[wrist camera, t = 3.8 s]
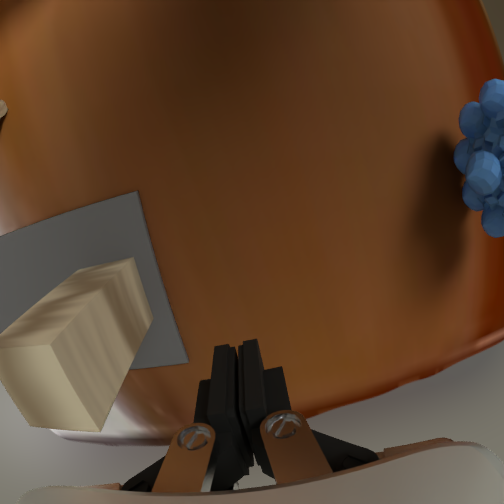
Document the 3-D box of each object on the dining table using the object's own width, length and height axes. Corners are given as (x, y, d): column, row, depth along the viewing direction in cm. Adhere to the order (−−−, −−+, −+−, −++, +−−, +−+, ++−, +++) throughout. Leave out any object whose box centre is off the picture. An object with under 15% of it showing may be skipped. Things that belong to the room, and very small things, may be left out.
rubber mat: (138, 190, 21) (136, 191, 21) (189, 359, 25) (188, 362, 25) (-31, 249, 21) (-34, 250, 21) (20, 372, 25) (19, 374, 25)
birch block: (133, 257, 22) (50, 344, 10) (153, 318, 23) (100, 432, 12) (78, 269, 22) (-17, 349, 10) (99, 326, 23) (30, 426, 12)
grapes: (399, 97, 20) (511, 66, 8) (460, 88, 19) (567, 70, 8) (431, 241, 23) (536, 298, 11) (486, 218, 23) (586, 257, 11)
